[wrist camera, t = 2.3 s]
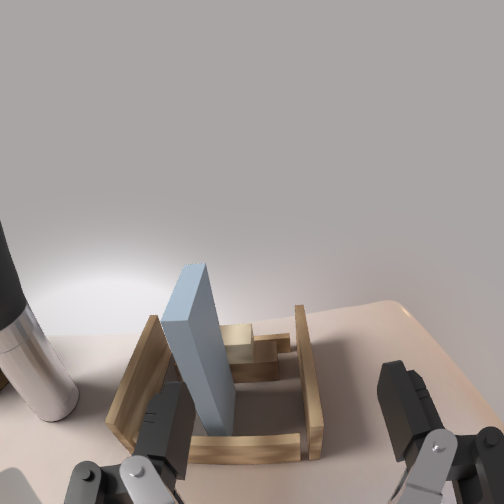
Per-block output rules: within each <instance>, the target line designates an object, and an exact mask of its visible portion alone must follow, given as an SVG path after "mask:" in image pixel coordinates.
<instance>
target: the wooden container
mask: <svg viewBox="0 0 504 504" xmlns="http://www.w3.org/2000/svg"><path fill="white" fill-rule="evenodd" d="M8 381H9V380H8V379H7V377H6V376H5V375H4V373H3V372H2V370H1V368H0V390H2V388H3V387H4V386H5V385H6V384H7V383H8Z"/></svg>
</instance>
